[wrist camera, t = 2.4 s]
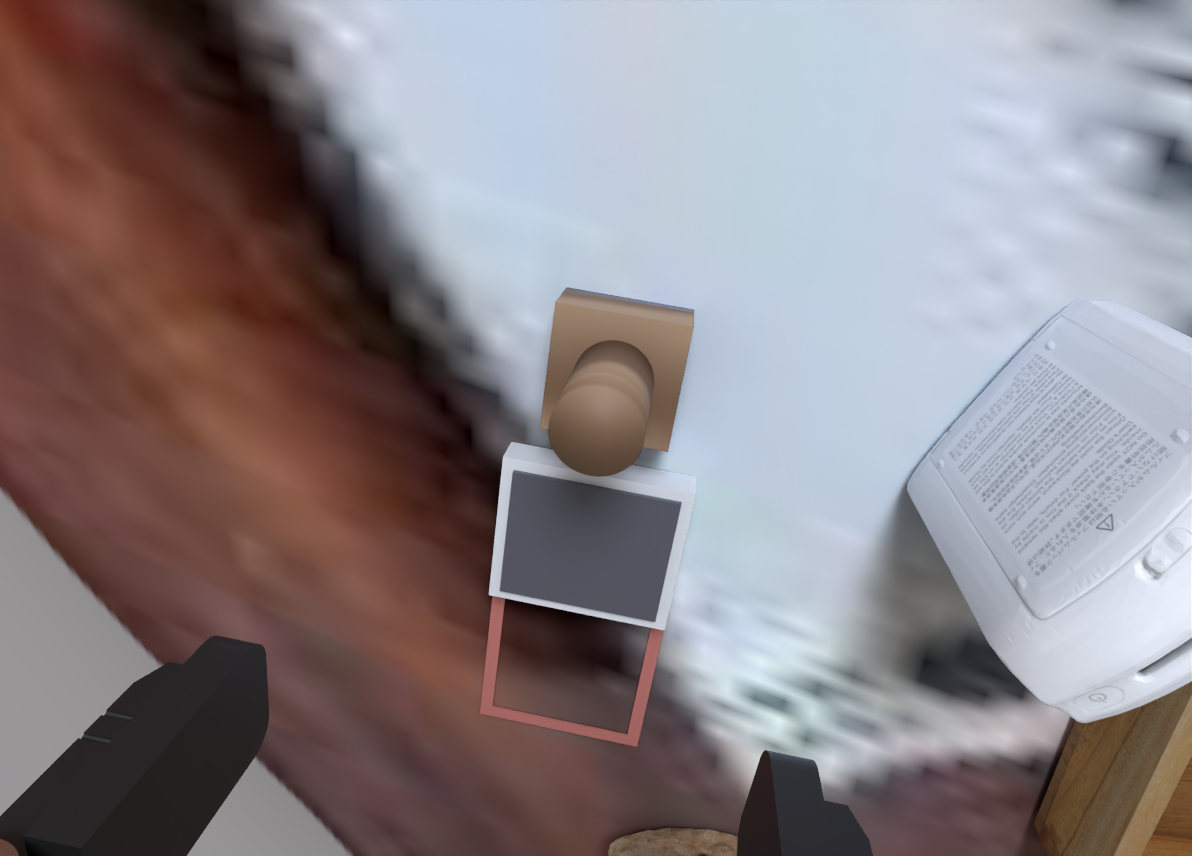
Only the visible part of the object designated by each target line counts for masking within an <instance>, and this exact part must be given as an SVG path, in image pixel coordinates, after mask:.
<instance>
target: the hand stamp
mask: <svg viewBox="0 0 1192 856" xmlns="http://www.w3.org/2000/svg"><path fill="white" fill-rule="evenodd" d="M693 327H694V310H693V309H687V308H682V307H676V306H670V305H664V304H659V303H653V302H647V301H642V300H636V299H630V298H624V297H619V296H613V295H607V294H601V293H596V292H590V291H584V290H579V289H573V288H566V289H565V290H564V292H563V293H562V294H561V296H560V297H559V298H558V300H557V301H556V303H555V311H554V319H553V327H552V335H551V343H550V351H549V359H548V367H547V375H546V383H545V391H544V400H543V408H542V416H541V424H540V428H543V429H548V435H549V440H550V443H551V446H552V448H553V450H554V452H555V453H556V455H557V456H558V458H559V459H560V460H561V461H562V462H563V463H564V464H565V465H567V466H568V467H570V468H571V469H573V470H575V471H577V472H579V473H581V474H584V475H588V476H595V477H602V476H610V475H614V474H617V473H619V472H621V471H623V470H625V469H626V468H628V467H629V466H630V465H631V464H632V463H634V461H635V460H636V459H637V458H638V456H639V454H640V453H641V450H642V448H643V447H644V448H650V449H655V450H660V451H666V452H668V448H669V444H670V439H671V434H672V429H673V424H674V419H675V414H676V410H677V405H678V400H679V395H680V390H681V385H682V380H683V376H684V371H685V366H686V361H687V356H688V351H689V347H690V342H691V337H692V332H693Z"/></svg>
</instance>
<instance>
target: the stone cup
mask: <svg viewBox="0 0 1192 856" xmlns="http://www.w3.org/2000/svg"><path fill="white" fill-rule="evenodd" d="M737 841H738V837H737V836H734V835H731V834H728V833H725V832H719V831H715V830H711V829H693V828H664V829H658V830H646V831H642V832H639V833H635V834H631V835H626V836H623V837H621V838H618V839H616V840H615V841H614V842H613V843H611V844H610V847H609V850H608V856H737Z"/></svg>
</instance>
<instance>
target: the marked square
mask: <svg viewBox="0 0 1192 856" xmlns="http://www.w3.org/2000/svg"><path fill="white" fill-rule="evenodd" d="M504 605H505V598H501V597H496V596H493V597H492V606H491V615H490V625H489V634H488V644H487V653H486V663H485V672H484V682H483V691H482V700H481V710H480V714H485V715H489V716H494V717H499V718H503V719H508V720H513V721H518V722H522V723H527V724H532V725H536V726H541V727H546V728H550V729H555V730H560V731H565V732H569V733H574V734H579V735H583V736H588V737H593V738H598V739H602V740H607V741H612V742H616V743H621V744H626V745H631V746H635V747H637V745H638V740H639V736H640V732H641V727H642V723H643V718H644V714H645V710H646V705H647V701H648V697H649V692H650V688H651V684H652V679H653V675H654V671H655V666H656V662H657V658H658V653H659V649H660V644H661V640H662V636H663V631H664V630H659V629H654V628H651V630H650V634H649V639H648V643H647V648H646V652H645V657H644V661H643V666H642V670H641V675H640V679H639V684H638V689H637V693H636V698H635V702H634V707H633V711H632V716H631V720H630V725H629V729H628V734H624V733H619V732H614V731H610V730H605V729H600V728H596V727H591V726H586V725H581V724H577V723H572V722H567V721H562V720H558V719H553V718H548V717H544V716H539V715H534V714H529V713H525V712H520V711H515V710H510V709H506V708H501V707H496V706H493V701H494V692H495V684H496V675H497V666H498V658H499V649H500V640H501V631H502V623H503V614H504Z"/></svg>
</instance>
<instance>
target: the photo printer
mask: <svg viewBox="0 0 1192 856" xmlns="http://www.w3.org/2000/svg"><path fill="white" fill-rule="evenodd" d="M907 491H908V494H909V496H910V498H911V500H912V502H913V503H914V505H915V507H916V509H917V511H918V512H919V514H920V516H921V518H922V520H923V522H924V523H925V525H926V527H927V529H928V531H929V533H930V535H931V536H932V538H933V540H934V542H935V544H936V546H937V548H938V550H939V552H940V553H941V555H942V557H943V559H944V561H945V563H946V565H947V566H948V568H949V570H950V572H951V574H952V576H953V578H954V579H955V581H956V583H957V585H958V587H959V589H960V591H961V593H962V595H963V597H964V598H965V600H966V602H967V604H968V606H969V608H970V610H971V611H972V613H973V615H974V617H975V619H976V621H977V623H978V625H979V626H980V629H981V631H982V632H983V634H984V636H985V638H986V640H987V642H988V643H989V645H990V646H991V647H992V649H993V650H994V651H995V653H996V654H997V655H998V657H999V658H1000V659H1001V661H1002V662H1003V663H1004V664H1005V665H1006V666H1007V668H1008V669H1009V670H1010V671H1011V672H1012V673H1013V674H1014V675H1015V676H1016V677H1017V678H1018V679H1019V680H1020V681H1021V682H1022V684H1023V685H1024V686H1025V687H1027V688H1028V689H1029V690H1030V691H1031V692H1032V693H1033V694H1034V695H1035V696H1036V697H1037V698H1038V699H1040V700H1041V701H1042V702H1044V703H1045V704H1047V705H1050V706H1054V707H1057V708H1059V709H1061V710H1063V711H1064V712H1066V713H1067V714H1068V715H1069V716H1071V717H1072V718H1073V719H1074V720H1076V721H1077V722H1080V723H1089V722H1093V721H1096V720H1100V719H1104V718H1107V717H1111V716H1115V715H1118V714H1121V713H1124V712H1126V711H1129V710H1132V709H1135V708H1137V707H1140V706H1143V705H1145V704H1147V703H1149V702H1151V701H1154V700H1156V699H1158V698H1160V697H1162V696H1165V695H1167V694H1169V693H1171V692H1173V691H1175V690H1177V689H1178V688H1180V687H1182V686H1184V685H1186V684H1188V683H1190V682H1191V681H1192V338H1191V337H1189V336H1187V335H1185V334H1182V333H1180V332H1178V331H1176V330H1174V329H1172V328H1170V327H1168V326H1165V325H1163V324H1161V323H1159V322H1157V321H1155V320H1153V319H1151V318H1148V317H1146V316H1144V315H1142V314H1140V313H1138V312H1136V311H1134V310H1131V309H1129V308H1127V307H1125V306H1123V305H1120V304H1118V303H1114V302H1109V301H1101V300H1100V301H1089V300H1087V299H1084V298H1080V299H1078V300H1076V301H1074V302H1072V303H1071V304H1069V305H1068V306H1067V307H1066V308H1064V309H1063V310H1062V311H1061V312H1060V313H1058V314H1057V315H1056V316H1055V317H1054V318H1052V319H1051V320H1050V321H1049V322H1048V323H1047V324H1046V325H1045V326H1044V327H1043V328H1042V329H1041V330H1040V331H1039V332H1038V333H1037V334H1036V335H1035V336H1034V337H1033V338H1032V339H1031V340H1030V341H1029V342H1028V343H1027V345H1026V346H1025V347H1024V348H1023V349H1022V350H1021V351H1020V352H1019V353H1018V354H1017V355H1016V356H1015V357H1014V358H1013V359H1012V360H1011V362H1010V363H1009V364H1008V365H1007V366H1006V367H1005V368H1004V369H1003V370H1002V371H1001V372H1000V373H999V374H998V375H997V376H996V378H995V379H994V380H993V381H992V382H991V383H990V384H989V385H988V386H987V387H986V389H985V390H984V391H983V392H982V393H981V394H980V395H979V396H978V397H977V398H976V399H975V401H974V402H973V403H972V404H971V405H970V406H969V407H968V408H967V410H966V411H965V412H964V413H963V414H962V415H961V416H960V417H959V418H958V419H957V420H956V422H955V423H954V424H953V425H952V426H951V427H950V429H949V430H948V431H947V432H946V433H945V434H944V435H943V436H942V437H941V438H940V440H939V441H938V442H937V443H936V444H935V446H934V447H933V448H932V449H931V450H930V452H929V453H928V454H927V455H926V457H925V458H924V459H923V460H922V461H921V463H920V464H919V465H918V467H917V468H916V470H915V471H914V473H913V474H912V476H911V478H910V479H909V481H908V484H907Z"/></svg>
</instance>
